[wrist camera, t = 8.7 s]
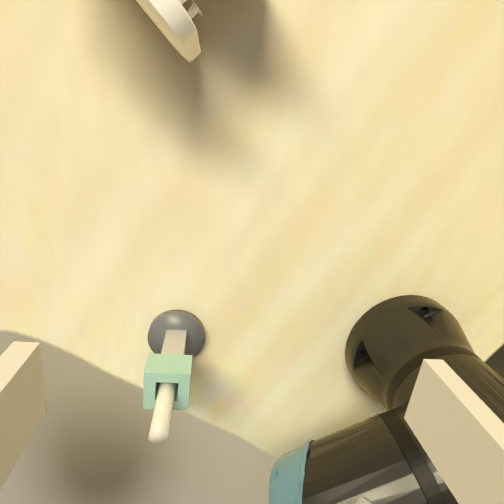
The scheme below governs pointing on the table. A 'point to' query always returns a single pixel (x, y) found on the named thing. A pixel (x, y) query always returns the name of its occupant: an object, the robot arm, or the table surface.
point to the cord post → (171, 342)
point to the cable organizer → (175, 24)
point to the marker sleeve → (167, 378)
